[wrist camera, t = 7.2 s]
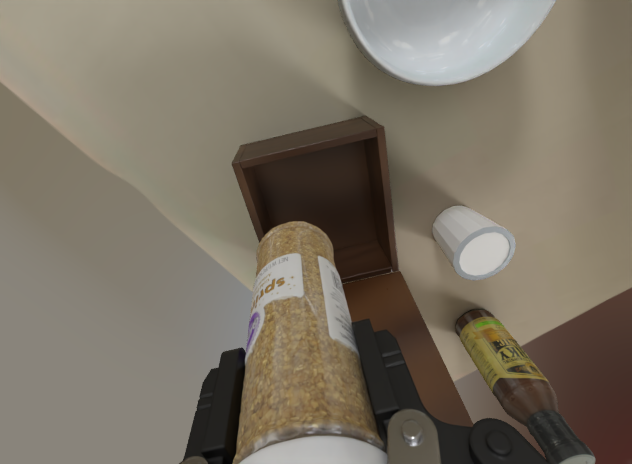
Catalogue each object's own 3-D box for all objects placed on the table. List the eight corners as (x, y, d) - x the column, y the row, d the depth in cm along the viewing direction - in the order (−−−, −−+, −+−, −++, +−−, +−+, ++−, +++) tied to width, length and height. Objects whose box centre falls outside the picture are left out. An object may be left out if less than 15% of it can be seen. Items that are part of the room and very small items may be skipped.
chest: (240, 145, 33) (231, 163, 27) (365, 115, 32) (384, 126, 27) (279, 263, 40) (278, 298, 34) (381, 240, 40) (398, 270, 34)
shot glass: (481, 240, 41) (515, 271, 35) (430, 255, 42) (455, 288, 35) (479, 193, 38) (517, 218, 32) (424, 210, 38) (451, 237, 32)
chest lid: (285, 487, 21) (288, 490, 21) (483, 444, 21) (481, 448, 21) (277, 298, 34) (279, 303, 34) (400, 270, 33) (400, 275, 34)
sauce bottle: (500, 311, 48) (626, 454, 30) (477, 340, 50) (580, 486, 33) (467, 302, 46) (578, 446, 29) (444, 332, 49) (534, 481, 31)
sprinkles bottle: (256, 217, 17) (197, 552, 5) (338, 219, 18) (445, 529, 6) (257, 284, 19) (217, 627, 8) (330, 284, 20) (397, 605, 8)
